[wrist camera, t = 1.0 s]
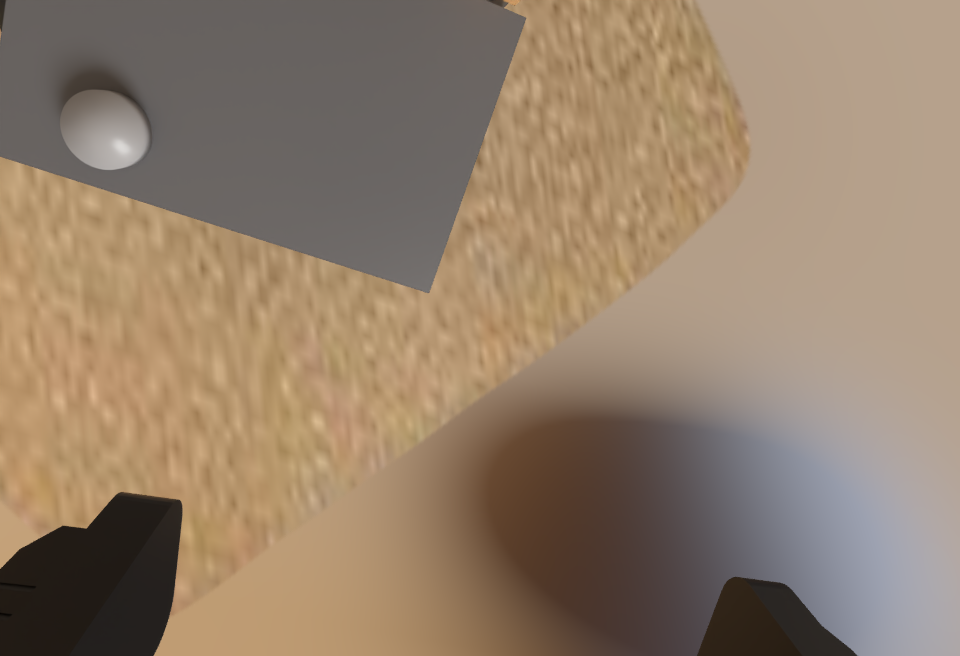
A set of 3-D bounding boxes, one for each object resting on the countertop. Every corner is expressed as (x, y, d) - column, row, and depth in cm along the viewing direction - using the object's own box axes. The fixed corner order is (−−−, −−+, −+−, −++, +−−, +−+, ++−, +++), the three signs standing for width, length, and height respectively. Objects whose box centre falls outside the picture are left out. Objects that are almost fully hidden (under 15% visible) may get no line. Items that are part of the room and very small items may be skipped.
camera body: (132, -107, 27) (-50, -257, 16) (485, 42, 31) (534, 4, 20) (90, 126, 30) (-90, 134, 19) (419, 237, 34) (430, 299, 23)
